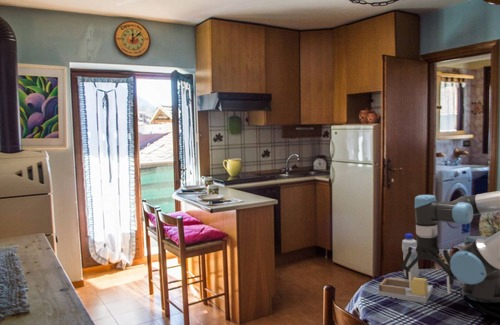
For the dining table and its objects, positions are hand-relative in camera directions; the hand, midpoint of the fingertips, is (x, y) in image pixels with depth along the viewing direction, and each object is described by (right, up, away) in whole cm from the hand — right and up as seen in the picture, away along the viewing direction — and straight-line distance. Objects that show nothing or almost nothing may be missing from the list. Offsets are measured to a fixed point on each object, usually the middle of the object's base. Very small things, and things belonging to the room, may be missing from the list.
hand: (429, 289), depth 153 cm
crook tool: (-7, -2, +14) cm, 15 cm away
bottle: (+3, -3, +24) cm, 25 cm away
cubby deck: (-6, -4, +8) cm, 11 cm away
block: (-3, -2, +2) cm, 4 cm away
